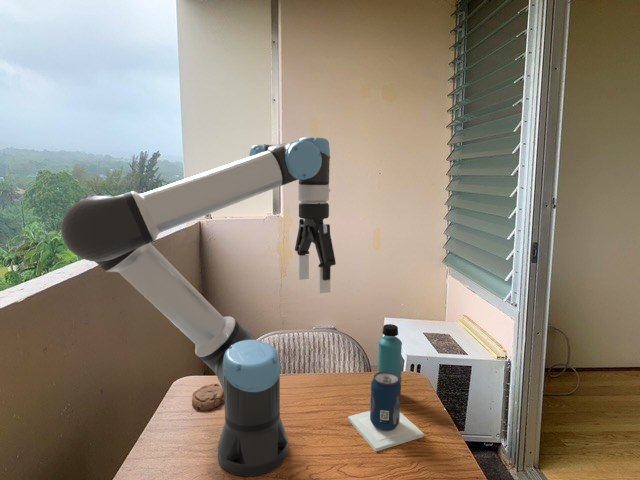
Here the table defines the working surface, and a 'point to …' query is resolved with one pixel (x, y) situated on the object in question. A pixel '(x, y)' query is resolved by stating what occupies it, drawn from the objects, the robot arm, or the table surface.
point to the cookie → (208, 397)
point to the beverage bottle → (390, 351)
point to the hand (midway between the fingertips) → (313, 285)
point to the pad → (384, 438)
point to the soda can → (385, 401)
